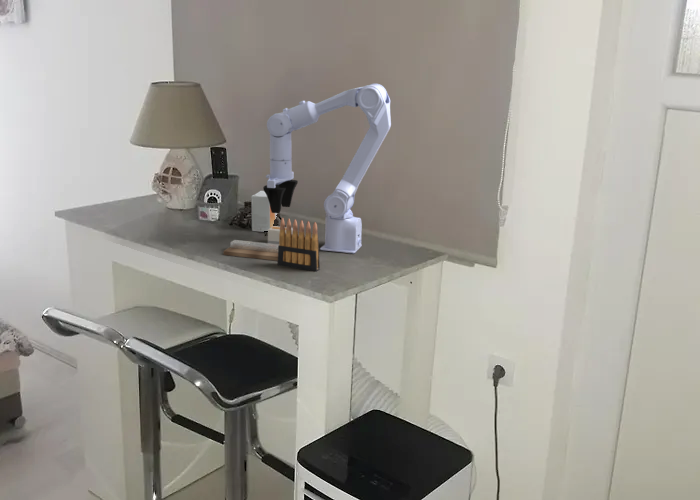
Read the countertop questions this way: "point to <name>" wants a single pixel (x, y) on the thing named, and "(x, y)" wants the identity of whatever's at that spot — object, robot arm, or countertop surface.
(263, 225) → the small box
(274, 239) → the block
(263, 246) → the rail
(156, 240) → the countertop surface
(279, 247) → the ammunition clip
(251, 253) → the board
